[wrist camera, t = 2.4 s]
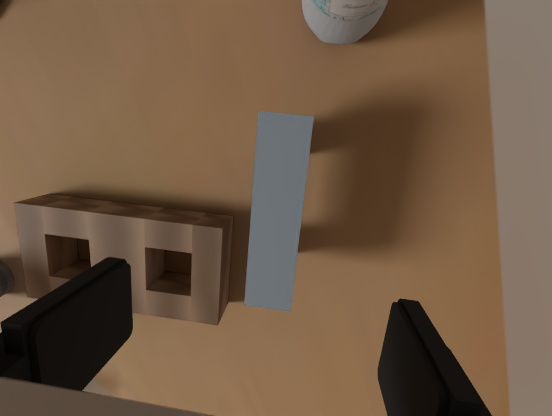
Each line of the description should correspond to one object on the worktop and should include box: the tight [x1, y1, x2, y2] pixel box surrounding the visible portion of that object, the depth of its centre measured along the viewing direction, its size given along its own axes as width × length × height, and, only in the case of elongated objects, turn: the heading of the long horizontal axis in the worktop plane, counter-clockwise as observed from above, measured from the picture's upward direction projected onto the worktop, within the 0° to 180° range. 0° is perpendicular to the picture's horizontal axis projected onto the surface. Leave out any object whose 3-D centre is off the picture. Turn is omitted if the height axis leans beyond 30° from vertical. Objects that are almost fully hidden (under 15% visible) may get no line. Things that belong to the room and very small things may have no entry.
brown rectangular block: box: [14, 194, 233, 325], centre depth 31 cm, size 20×10×4 cm, turn 84°
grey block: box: [244, 111, 314, 311], centre depth 25 cm, size 14×4×9 cm, turn 174°
